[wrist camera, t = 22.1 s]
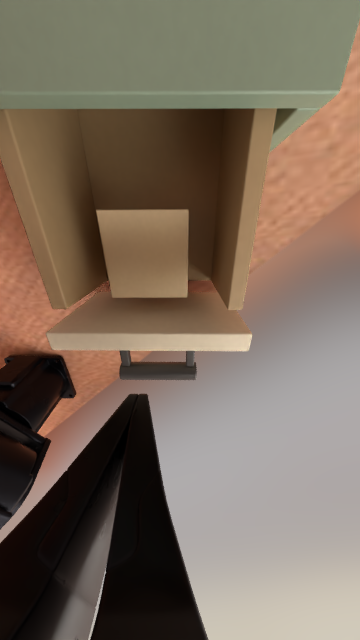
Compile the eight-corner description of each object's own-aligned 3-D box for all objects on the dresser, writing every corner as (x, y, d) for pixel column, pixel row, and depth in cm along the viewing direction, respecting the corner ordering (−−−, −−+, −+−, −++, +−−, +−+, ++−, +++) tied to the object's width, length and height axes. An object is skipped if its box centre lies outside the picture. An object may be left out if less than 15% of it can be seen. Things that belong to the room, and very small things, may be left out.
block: (185, 278, 15) (187, 297, 11) (130, 279, 15) (111, 297, 11) (186, 215, 13) (188, 209, 9) (122, 215, 13) (95, 209, 9)
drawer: (218, 345, 19) (237, 406, 12) (110, 345, 19) (73, 405, 13) (247, 93, 11) (349, -114, 4) (57, 93, 11) (-130, -108, 4)
